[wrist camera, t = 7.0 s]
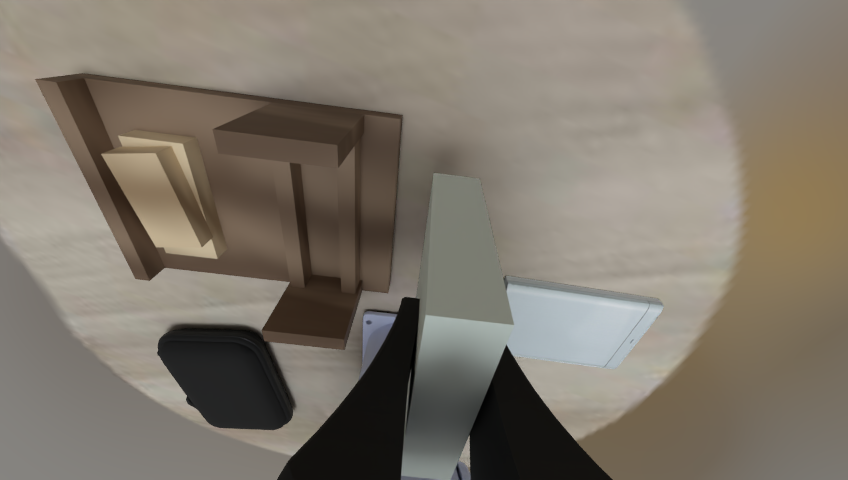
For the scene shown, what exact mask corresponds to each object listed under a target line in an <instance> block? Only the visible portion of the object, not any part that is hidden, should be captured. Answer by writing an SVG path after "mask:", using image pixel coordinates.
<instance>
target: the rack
mask: <svg viewBox="0 0 848 480" xmlns="http://www.w3.org/2000/svg"><path fill="white" fill-rule="evenodd" d="M35 80H36V82H37V84H38V86H39V88H40V90H41V92H42V94H43V96H44V98H45V100H46V102H47V104H48V106H49V107H50V109H51V111H52V113H53V115H54V117H55V119H56V121H57V123H58V125H59V127H60V129H61V131H62V133H63V135H64V137H65V139H66V141H67V143H68V145H69V147H70V149H71V151H72V153H73V155H74V157H75V159H76V161H77V163H78V165H79V167H80V169H81V171H82V173H83V175H84V177H85V179H86V181H87V183H88V185H89V187H90V189H91V191H92V193H93V195H94V197H95V199H96V201H97V203H98V205H99V207H100V209H101V211H102V213H103V215H104V217H105V219H106V221H107V223H108V225H109V227H110V229H111V231H112V233H113V235H114V237H115V239H116V241H117V243H118V245H119V247H120V249H121V251H122V253H123V255H124V257H125V259H126V261H127V263H128V265H129V267H130V269H131V271H132V273H133V275H134V277H135V279H140V280H149V281H150V280H151V279H152V278H153V277H154V276H156V275H157V274H158V273H159V272H160V271H161V270H163V269H164V268H173V269H181V270H190V271H199V272H208V273H216V274H225V275H234V276H242V277H251V278H260V279H269V280H277V281H286V282H290V283H289V285H288V287H287V288H286V290H285V292H284V294H283V295H282V297H281V299H280V300H279V302H278V304H277V305H276V307H275V309H274V310H273V312H272V314H271V316H270V317H269V319H268V321H267V322H266V324H265V326H264V327H263V329H262V334H263V338H264V341H268V342H277V343H286V344H295V345H304V346H313V347H322V348H332V349H341V350H345V347H346V343H347V340H348V337H349V333H350V330H351V326H352V323H353V320H354V316H355V313H356V310H357V306H358V303H359V300H360V296H361V293H362V290H365V291H373V292H382V293H388V291H389V286H390V275H391V262H392V248H393V235H394V221H395V208H396V194H397V181H398V167H399V154H400V140H401V127H402V115H398V114H390V113H382V112H375V111H367V110H359V109H352V108H344V107H336V106H329V105H321V104H313V103H306V102H298V101H290V100H283V99H275V98H267V97H260V96H252V95H244V94H236V93H229V92H221V91H213V90H206V89H198V88H190V87H183V86H175V85H167V84H160V83H152V82H144V81H137V80H129V79H121V78H114V77H106V76H98V75H91V74H83V73H82V74H74V75H66V76H58V77H50V78H42V79H35ZM133 130H141V131H148V132H156V133H164V134H172V135H180V136H188V137H196V138H197V141H198V145H199V148H200V152H201V156H202V159H203V163H204V166H205V170H206V174H207V177H208V181H209V185H210V188H211V192H212V195H213V199H214V203H215V206H216V210H217V214H218V217H219V221H220V224H221V228H222V232H223V235H224V239H225V242H226V246H227V250H226V251H225V252H224V253H223V254H222V255H221V256H220V257H219V258H218V259H213V258H204V257H196V256H187V255H179V254H170V253H166V252H165V249H164V247H156V246H155V245H154V243H153V241H152V240H151V238H150V236H149V235H148V233H147V231H146V229H145V228H144V226H143V224H142V223H141V221H140V219H139V218H138V216H137V214H136V212H135V211H134V209H133V207H132V206H131V204H130V202H129V201H128V199H127V197H126V196H125V194H124V192H123V190H122V189H121V187H120V185H119V184H118V182H117V180H116V179H115V177H114V175H113V173H112V172H111V170H110V168H109V167H108V165H107V163H106V162H105V160H104V158H103V156H102V155H101V154H102V153H104V152H107V151H110V150H113V149H115V148H118V147H122V144H121V142H120V139H119V137H118V135H121V134H124V133H127V132H130V131H133Z"/></svg>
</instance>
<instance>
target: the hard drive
mask: <svg viewBox="0 0 848 480" xmlns="http://www.w3.org/2000/svg"><path fill="white" fill-rule="evenodd" d="M504 284H505V288H506V292H507V296H508V301H509V305H510V309H511V313H512V318H513V322H514V327H513V329H512V332H511V334H510V337H509V339H508V342H507V346H508V348H509V350H510V351H511V353H512V355H513V356H518V357H526V358H532V359H540V360H547V361H555V362H562V363H569V364H577V365H584V366H592V367H599V368H609V369H615V368H617V367H618V366H619V364H620V363H621V362H622V361H623V360H624V358H625V357H626V356H627V355H628V353H629V352H630V351H631V350H632V348H633V347H634V346H635V345H636V343H637V342H638V341H639V340H640V338H641V337H642V336H643V335H644V334H645V332H646V331H647V330H648V328H649V327H650V326H651V325H652V324H653V322H654V321H655V320H656V318H657V317H658V316H659V314H660V313H661V311H662V309H663V307H664V305H663V304H662V302H661V301H660V300H659V299H657V298H651V297H644V296H638V295H631V294H625V293H618V292H612V291H605V290H599V289H592V288H586V287H579V286H572V285H566V284H559V283H553V282H546V281H540V280H533V279H526V278H520V277H513V276H505V279H504Z"/></svg>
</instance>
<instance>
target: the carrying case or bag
mask: <svg viewBox="0 0 848 480" xmlns="http://www.w3.org/2000/svg"><path fill="white" fill-rule="evenodd" d="M157 353H158V355H159V356H160V358H161V360H162V361H163V363H164V365H165V366H166V367H167V369H168V370H169V372H170V373H171V374H172V376H173V377H174V378H175V380H176V381H177V383H178V384H179V385H180V387H181V388H182V390H183V391H184V392H185V394H186V395H187V398H186V401H187V403H188V404H189V405H191V406H193V407H195V408H196V409H197V410H198V411H199V412H200V413H201V414H202V416H203V417H204V418H205V419H206V421H207V422H208V423H209V424H211V425H213V426H215V427H219V428H236V429H261V430H276V429H279V428H281V427H282V426H283V425H285V424H287V423H288V422H289V421H290V420H291V418H292V416H293V410H292V407H291V404H290V402H289V399H288V397H287V394H286V392H285V390H284V387H283V385H282V383H281V380H280V378H279V376H278V373H277V371H276V369H275V367H274V365H273V362H272V360H271V358H270V356H269V354H268V351H267V349H266V347H265V345H264V343H263V341H262V339H261V338H260V337H259V336H258V335H257V334H256V333H254V332H251V331H247V330H216V329H181V330H173V331H170V332H168V333H166V334H164V335H163V336H162V337H161V338H160V340H159V343H158V352H157Z"/></svg>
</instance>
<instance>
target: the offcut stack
mask: <svg viewBox="0 0 848 480" xmlns="http://www.w3.org/2000/svg"><path fill="white" fill-rule="evenodd" d="M118 137H119V139H120V142H121V144H122V147H118V148H115V149H113V150H110V151H107V152H104V153H102V154H101V155H102V156H103V158H104V160H105V162H106V163H107V165H108V167H109V168H110V170H111V172H112V173H113V175H114V177H115V179H116V180H117V182H118V184H119V185H120V187H121V189H122V190H123V192H124V194H125V196H126V197H127V199H128V201H129V202H130V204H131V206H132V207H133V209H134V211H135V212H136V214H137V216H138V218H139V219H140V221H141V223H142V224H143V226H144V228H145V229H146V231H147V233H148V235H149V236H150V238H151V240H152V241H153V243H154V245H155V246H156V247H164V249H165V252H166V253H170V254H179V255H187V256H196V257H204V258H213V259H218V258H219V257H220V256H221V255H222V254H223V253H224V252H225V251H226V250H227V246H226V242H225V239H224V235H223V232H222V228H221V224H220V221H219V217H218V214H217V210H216V206H215V203H214V199H213V195H212V192H211V188H210V185H209V181H208V177H207V174H206V170H205V166H204V163H203V159H202V156H201V152H200V148H199V145H198V141H197V138H196V137H188V136H180V135H172V134H164V133H156V132H148V131H141V130H133V131H130V132H127V133H124V134H121V135H118Z"/></svg>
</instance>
